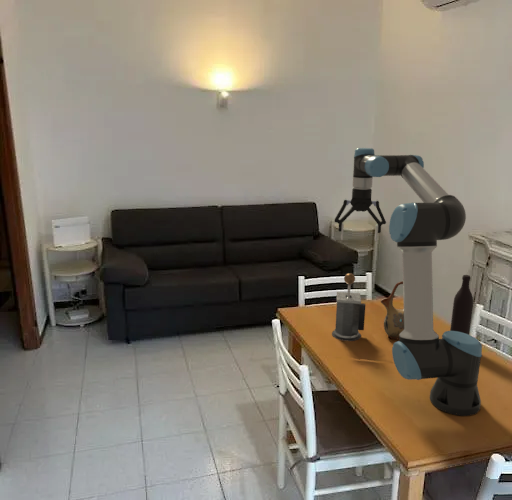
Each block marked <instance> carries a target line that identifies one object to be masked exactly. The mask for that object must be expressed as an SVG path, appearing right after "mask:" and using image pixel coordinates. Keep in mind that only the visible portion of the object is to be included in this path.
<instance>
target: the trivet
mask: <svg viewBox="0 0 512 500" xmlns="http://www.w3.org/2000/svg"><path fill="white" fill-rule="evenodd" d="M331 335H332V337H333V338H334V339H336V340H338V341H341V342H342V341H344V342H355V341H359V339H362V335H361V333H360V332H359V336H358V338H356V339H353V340H344V339H340V338H337V337H336V336H335V335H334V330H333V331H332V332H331Z"/></svg>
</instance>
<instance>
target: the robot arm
mask: <svg viewBox="0 0 512 500" xmlns="http://www.w3.org/2000/svg"><path fill="white" fill-rule="evenodd" d="M386 176H387V177H389V176H391V177H392V176H393V177H394V176H395V177H400V176H401V178H403V180H404V181H405V183H407V185H408V186H409V187H410V188H411V190H412V191H413V192H414V194H416V195H417V196H418V198H419V199H420V200H421V201H422V202H408V203H401V204H399V205H397V206H395V208H394V210H393V212H391V216H390V219H389V225H388V232H389V235H390V239H391V240H392V241H393V242H395V243H396V246H397V249H398V250H400V252H401V253H402V281H403V284H402V288H403V289H402V290H403V291H402V293H403V294H402V295H403V296H402V297H403V309H404V330H403V331H402V332H401V333H400V334H399V339H398V341H395V342H393V344H392V350H391V353H392V354H391V355H392V360H393V363H394V366H395V368H396V370H397V372H398V374H399V375H400V376H401V377H402V378H404V379H405V380H410V381H411V380H416V381H420V380H427V379H436V380H435V382H434V383H433V384H432V385H433V386H432V388H431V389H430V391H429V392H430V393H429V401H430V403H431V404H432V405H433V406H434V407H435V408H437V409H439V410H440V411H442V412H445V413H446V414H451V415H454V416H461V417H465V416H466V417H468V416H473V415H476V414H478V412H480V410H481V403H482V400H481V396H480V392H479V391H480V390H479V388H478V381H479V373H480V366H481V359H482V356H483V354H482V352H483V346H482V343H481V341H480V340H479V339H477V338H476V337H474V336H473V335H471V334H469V335H468V334H465V333H462V332H458V331H450V330H446V331H444V332H443V333H442V335H441V338H440V336H439V334H438V333H437V332H436V331H435V330H434V302H433V301H434V300H433V299H434V297H433V292H434V291H433V290H434V289H433V253H432V252H433V251H434V250H435V249H436V248H437V247H438V244H437V243H438V242H437V241H442V240H443V241H444V240H449V239H452V238H454V237H455V236H457V235H458V234H459V233H460V232H461V231H462V230H463V229H464V226H465V223H466V219H467V214H466V209H465V208H464V206H463V203H462V202H461V201H460V200H459V199H458V198H457V197H456V196H455V195H452V194H449V193H448V192H447V191H446V190H445V189H444V188H443V187H442V186H441V185H440V184H439V183H438V182H437V181H436V180H435V179H434V178H433V177H432V176H431V175H430V173H428V171H426V169H425V162H424V160H423V157H422V156H421V155H417V154H415V155H414V154H408V155H407V154H405V155H404V154H403V155H399V154H398V155H395V154H394V155H390V154H389V155H387V154H386V155H385V154H384V155H382V154H381V155H378V154H377V155H375V149H374V148H372V147H358V148H356V149H355V150H354V155H353V174H352V187H353V188H352V192H351V199H350V200H349V199H347V198H345V199H343V202H342V205H341V208H340V209H339V211H338V213H336V216H335V218H334V223H337V224H338V232H340V240H341V241H343V240H344V225H345V224H344V222H345V221H346V220H347V218H349V217H350V216H351V214H353V213H354V212H355V211H356V212H366V211H367V212H368V213H369V214H370V216H371V217H372V219H373V220H374V221H375V222H376V224H375V231H374V241H375V242H378V237H379V236H378V235H379V234H381V233H382V232H381V231H382V230H381V229H382V225H386V224H387V221H386V219H385V217H384V214H383V212H382V210H381V208H380V202H379V200H378V199H376V200H372V193H373V192H372V191H373V190H372V187H373V178H381V177H386ZM349 204H350V205H351V207H350V209H348V210H347V212H346V213H345V214H344V213H343V212H344V211H345V209H346V207H347V206H349ZM372 205H373V206H374V207H375V208H376V210H377V212H378V215H379V217H380V219H381V220H380V219H379V218H378V216H376V214H375V213H374V212H373V210H372V209H371V208H370V207H371V206H372ZM342 214H344V215H343V216H342ZM341 216H342V217H341Z"/></svg>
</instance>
